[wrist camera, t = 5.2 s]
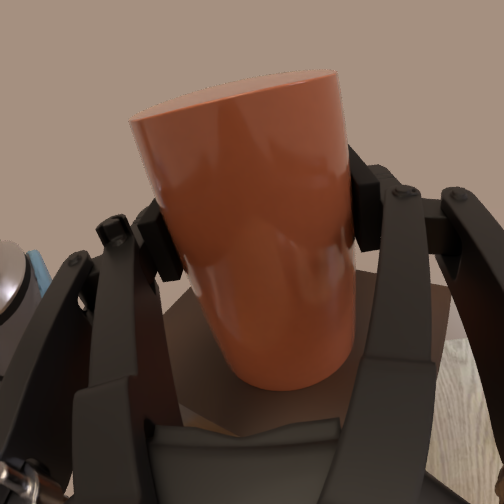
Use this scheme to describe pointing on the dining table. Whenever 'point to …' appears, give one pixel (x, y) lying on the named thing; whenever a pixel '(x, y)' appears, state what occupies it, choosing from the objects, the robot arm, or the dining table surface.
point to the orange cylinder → (261, 219)
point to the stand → (260, 400)
